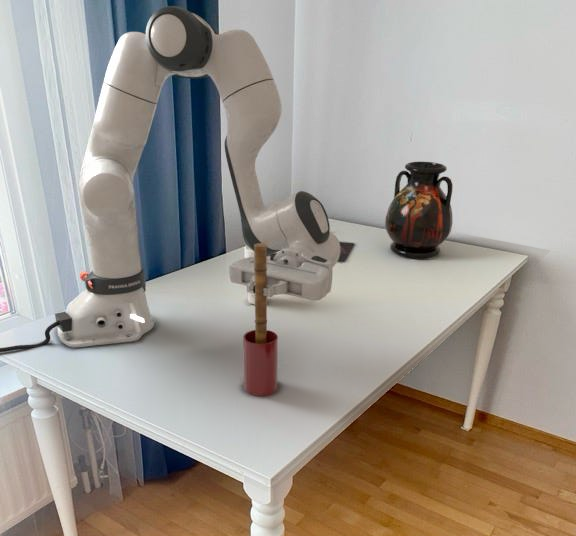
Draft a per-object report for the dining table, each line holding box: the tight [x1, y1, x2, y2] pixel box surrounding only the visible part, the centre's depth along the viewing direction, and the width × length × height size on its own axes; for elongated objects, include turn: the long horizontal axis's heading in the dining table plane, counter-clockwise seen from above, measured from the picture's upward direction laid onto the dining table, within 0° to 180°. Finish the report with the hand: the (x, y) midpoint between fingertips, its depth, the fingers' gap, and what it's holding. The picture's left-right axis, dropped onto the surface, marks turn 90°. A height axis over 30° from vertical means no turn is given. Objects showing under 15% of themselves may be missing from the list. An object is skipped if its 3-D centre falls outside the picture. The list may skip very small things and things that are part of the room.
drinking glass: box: [243, 244, 270, 306], centre depth 158 cm, size 7×7×15 cm
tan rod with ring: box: [254, 243, 268, 344], centre depth 113 cm, size 2×2×21 cm
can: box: [242, 329, 279, 397], centre depth 120 cm, size 7×7×12 cm
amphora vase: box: [384, 161, 453, 260], centre depth 194 cm, size 22×22×28 cm
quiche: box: [337, 241, 354, 263], centre depth 201 cm, size 21×20×4 cm
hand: (258, 291), depth 111 cm, fingers closed on tan rod with ring, 2 cm apart
